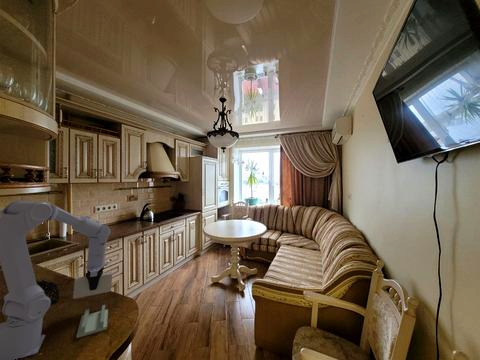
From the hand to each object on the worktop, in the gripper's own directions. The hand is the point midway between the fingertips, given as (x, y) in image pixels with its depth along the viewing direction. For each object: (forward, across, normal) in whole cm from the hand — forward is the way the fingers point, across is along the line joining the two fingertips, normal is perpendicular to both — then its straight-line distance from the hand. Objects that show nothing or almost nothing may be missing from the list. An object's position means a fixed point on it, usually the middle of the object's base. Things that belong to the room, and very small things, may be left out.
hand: (93, 288), depth 77 cm
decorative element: (+8, +21, +18) cm, 29 cm away
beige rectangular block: (+2, 0, 0) cm, 2 cm away
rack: (+8, -11, -2) cm, 14 cm away
